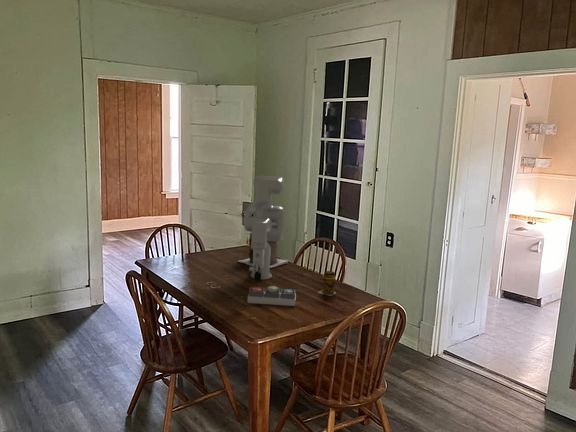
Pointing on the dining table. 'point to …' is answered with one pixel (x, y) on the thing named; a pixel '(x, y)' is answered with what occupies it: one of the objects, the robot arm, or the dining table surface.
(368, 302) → the dining table surface
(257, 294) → the button housing
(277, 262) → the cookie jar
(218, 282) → the dining table surface
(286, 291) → the blue button
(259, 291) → the red button
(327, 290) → the condiment
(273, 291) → the sage button
